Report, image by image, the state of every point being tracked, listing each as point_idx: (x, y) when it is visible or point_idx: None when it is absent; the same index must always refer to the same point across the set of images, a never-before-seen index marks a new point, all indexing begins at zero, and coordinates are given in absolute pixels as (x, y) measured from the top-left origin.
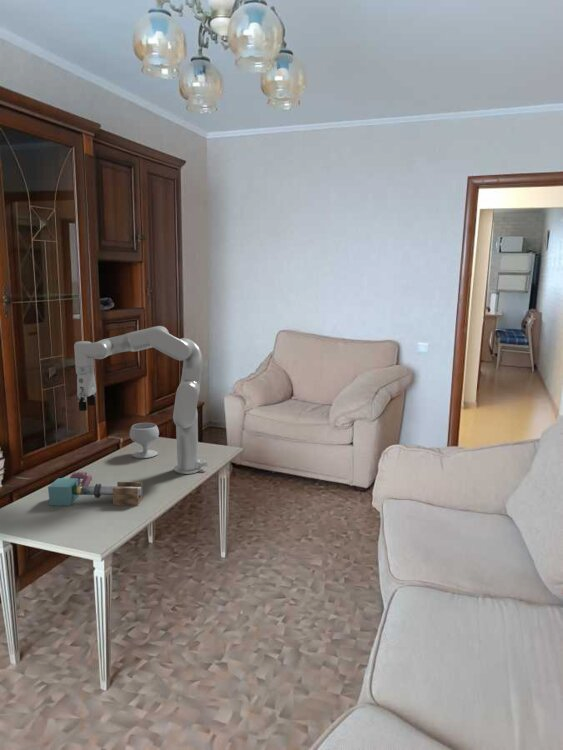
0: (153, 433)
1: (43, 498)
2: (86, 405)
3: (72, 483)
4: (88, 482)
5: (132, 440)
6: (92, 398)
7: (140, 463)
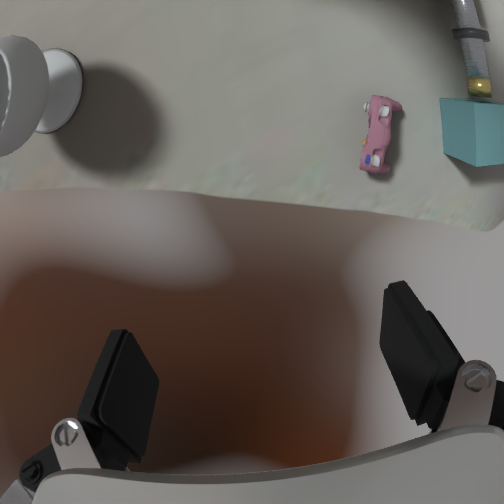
0: (6, 36)
1: (453, 187)
2: (419, 321)
3: (501, 105)
4: (389, 98)
5: (41, 117)
6: (116, 411)
7: (123, 46)
